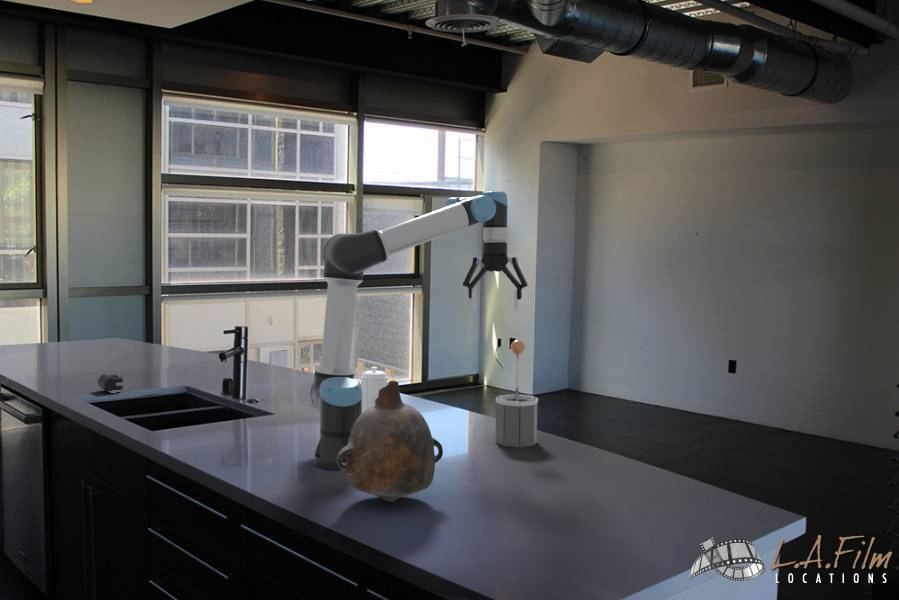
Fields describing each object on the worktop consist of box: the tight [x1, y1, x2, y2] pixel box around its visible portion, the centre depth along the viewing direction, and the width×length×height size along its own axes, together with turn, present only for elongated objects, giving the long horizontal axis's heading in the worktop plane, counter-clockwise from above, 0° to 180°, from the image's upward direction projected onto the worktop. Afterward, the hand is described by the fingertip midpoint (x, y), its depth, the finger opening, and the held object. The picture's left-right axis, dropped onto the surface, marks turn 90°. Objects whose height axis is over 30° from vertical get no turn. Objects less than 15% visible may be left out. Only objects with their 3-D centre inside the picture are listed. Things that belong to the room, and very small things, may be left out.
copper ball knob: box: [510, 339, 526, 401], centre depth 256 cm, size 8×8×21 cm
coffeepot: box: [360, 366, 389, 412], centre depth 286 cm, size 11×25×19 cm, turn 168°
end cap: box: [97, 373, 124, 392], centre depth 335 cm, size 10×7×7 cm
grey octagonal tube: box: [495, 393, 539, 449], centre depth 259 cm, size 16×12×14 cm
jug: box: [336, 379, 444, 503], centre depth 198 cm, size 24×21×30 cm
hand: (494, 309), depth 258 cm, fingers open, 13 cm apart
